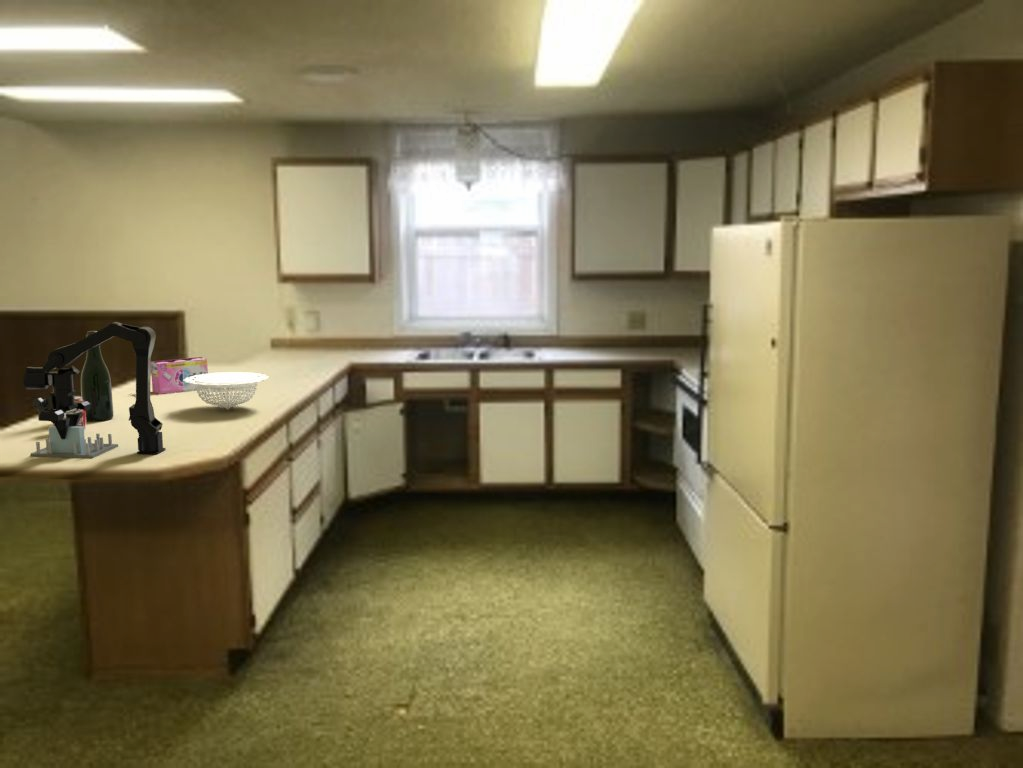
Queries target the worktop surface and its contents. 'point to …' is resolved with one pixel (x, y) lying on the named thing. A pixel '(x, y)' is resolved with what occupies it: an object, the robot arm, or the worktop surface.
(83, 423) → the soda can
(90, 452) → the dish rack
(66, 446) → the light blue rectangular slab
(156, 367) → the gum box
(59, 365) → the robot arm
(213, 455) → the worktop surface
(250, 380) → the colander
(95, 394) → the dark green wine bottle
